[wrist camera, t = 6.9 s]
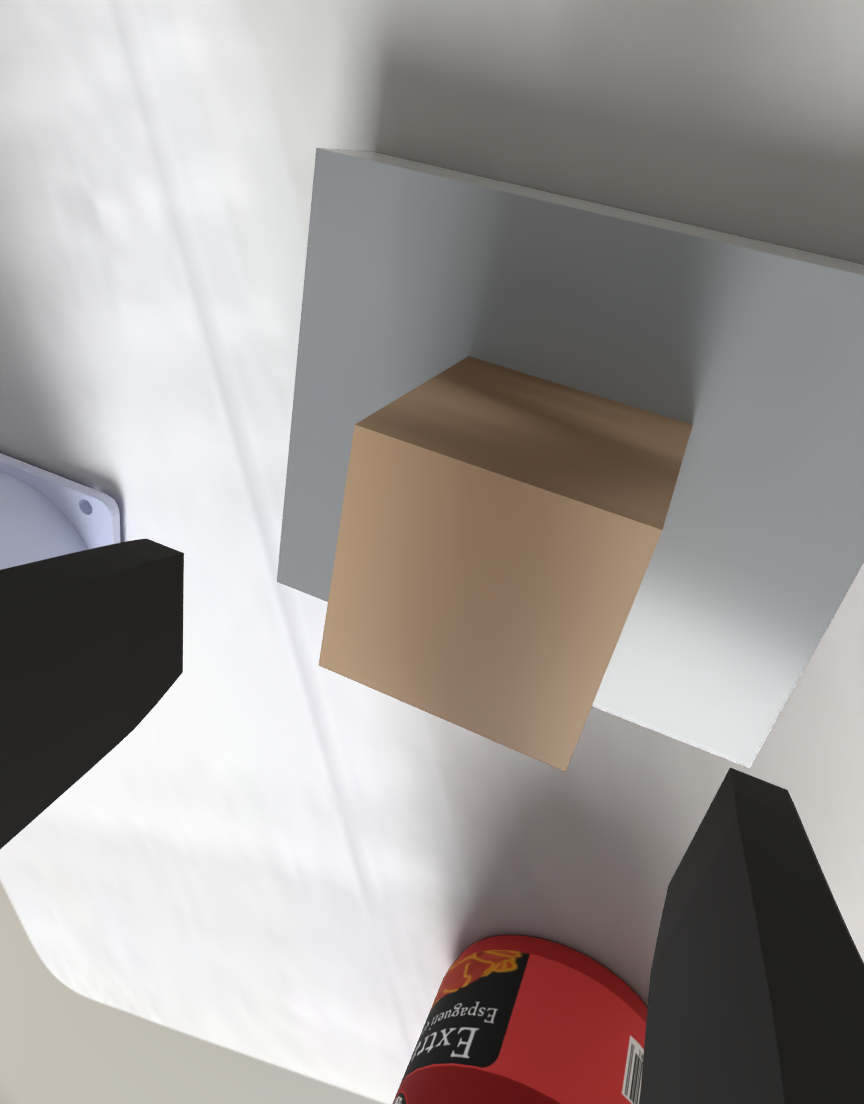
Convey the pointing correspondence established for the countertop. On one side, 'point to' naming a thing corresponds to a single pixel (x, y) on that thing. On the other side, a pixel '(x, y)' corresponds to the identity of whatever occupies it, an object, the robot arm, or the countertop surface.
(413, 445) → the light brown rectangular block
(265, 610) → the countertop surface
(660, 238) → the slate base
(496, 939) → the canned food
